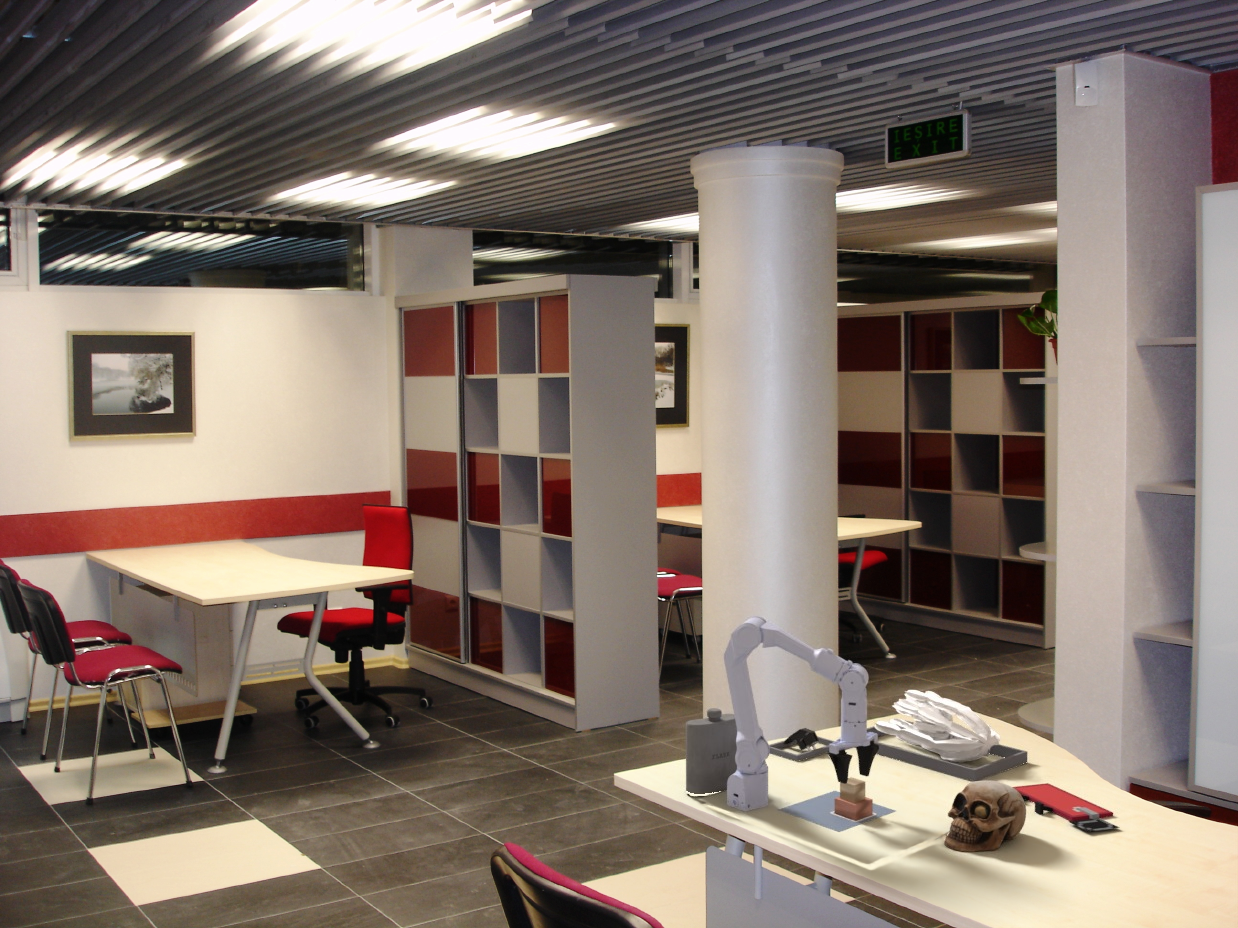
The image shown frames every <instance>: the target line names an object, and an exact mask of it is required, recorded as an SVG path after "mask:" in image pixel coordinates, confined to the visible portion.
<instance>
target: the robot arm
mask: <svg viewBox="0 0 1238 928" xmlns="http://www.w3.org/2000/svg"><path fill="white" fill-rule="evenodd" d="M761 644H762V646H761V647H762V649H764V648H773V647H774V648H775V647H778V648H779V649H782V650H783V651H785V652H787V653H788V654H789V653H790V655H791V654H792V655H793V656H795V657H797V658H800V659H801V660H804V661H805V662H807V663H808V664H809V668H810V669H811V671H813V672H815V673H816V674H817V675H819V676H821V677H823V678H824V679H826V680H828V681H830V682H832V683H833V684H835V685H839V688H840V690H841V700H840V710H841V711H840V737H839V738H838V739H836V740H834V741H835V742H833V743H831V744H829V750H828V753H827V755H828V756H829V758H830V761H831V762H832V764H833V767H834V771H835V773H836V778H837V782H838V783H840V782H841V783H844V784H846V783H847V781H848V778H849V769H850V765H851V761H852V758H853V755H852V754H849V753H848V752H847V750H851V749H854V747H856V748H855V749H856V753H857V760H858V772H859V775H860V776H863V777H867V778H868V777H869V776H870V772H871V768H872V766H873V765H872V764H873V762H874V759H875V756H876V755H877V754H876V753H877V752H878V750H879V745H877V744H874V743H876V742H878V737H877V736H878V734H876V733H873V732H869V733H867V728H868V699H867V694H868V693H867V688H866V687H867V685H868V683H869V673H868V671H867V669H866V668H865V667H864V666H863V665H861V664H860V663H853V661H852V660H850V659H848V660H846V659H844V658H842V657H841V656H838V655H837V654H835V653H834V652H835V651H834V649H831V648H830V647H829V648H827V649H826V648H824V647H821V648H819V649H816V648H814V647H812V646H811V645H808V644H807V643H806V642H804V641H803V640H801V639H799V638H797V637H796V636H795V635H792V633H789V632H788V631H786V630H785V629H784V628H781V627H780V626H778V624H776V623H774V622H772V621H770V620H766V619H765V618H763V617H761V616H759V615H753V616H750V617H748V618H747V619H746V620H745V621H744V622H743V623H741V624H739V625H738V626H737V627H736V628H735V629H733V631H732V632H731V634H730V639H729V641H728V644H727V646H726V648H725V651H724V653H723V663H724V667H725V672H726V678H727V683H728V688H729V694H730V699H731V704H732V709H733V714H734V715H735V721H736V726H737V738H736V745H737V752H736V755H735V762H736V764H737V770H736V772H735V773H734V774H732V775H731V776H730V777H729V778H728V781H727V791H726V805H727V806H729V807H731V808H734V809H737V810H740V811H743V812H749V811H751V810H755V809H760V808H764V807H767V806H768V804H769V766H768V765H767V762H766V760H767V759H768V758H769V756H770V754H771V753H770V747H769V745H770V744H769V743H768V741H767V740H766V738H765V736H764V733H763V729H762V727H760V725H759V720H758V716H757V715H758V714H757V710H756V703H755V699H754V698H755V697H754V694H753V688H752V682H751V677H750V672H749V668H748V662H747V659H748V657H749V656H750V655H751V653H753V651H754V650H755V649H757V648H758V647H759V646H760V645H761Z"/></svg>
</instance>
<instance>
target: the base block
mask: <svg viewBox="0 0 1238 928" xmlns="http://www.w3.org/2000/svg"><path fill="white" fill-rule="evenodd" d="M873 801H874V800H873V798H869V797H867V796H865V799H864V800H861V801H858V802H855V803H853V802H850V801H847V800H844V799H841V798H840V797H837V798H835V814H838V815H840V816H843V817H846V818H849V819H852V820H855V821H856V820H859V819H862V818H864V817H867V816H870V815H873V803H874V802H873Z"/></svg>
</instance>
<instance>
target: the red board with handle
mask: <svg viewBox="0 0 1238 928" xmlns="http://www.w3.org/2000/svg"><path fill="white" fill-rule="evenodd" d="M1012 787H1013V788H1014V789H1016V790H1017V791H1018V792H1019V793H1020V794H1021V796H1022V798H1023V800H1024V801H1028V800H1029V802H1031V801H1032V803H1033V802H1034V803H1033V804H1034V813H1035V812H1036V813H1035V814H1037V815H1039V816H1043V815H1044V814H1045V813H1044V811H1046V812H1049V813H1053V814H1056V815H1057V816H1060V817H1062V818H1063V819H1066V820H1068V823H1070V824H1073V825H1074V826H1076V827H1078V828H1080V829H1082V830H1084V831H1087V832H1094V831H1105V830H1112V829H1120V826H1117V825H1115V824H1113V823H1111V822H1109V821H1106V820H1104V819H1105V818H1111V817H1114V811H1111V810H1108V809H1106V808H1104V807H1102V806H1100V805H1098V804H1095V803H1093V802H1090V801H1089V800H1086V799H1084V798H1082V797H1079V796H1077V795H1075V794H1072V793H1070V792H1068V791H1066V790H1064V789H1061V788H1059V787H1057V786H1055V785H1053V784H1051V783H1038V784H1029V785H1028V784H1027V785H1019V786H1018V785H1017V786H1012Z"/></svg>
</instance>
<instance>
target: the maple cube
mask: <svg viewBox="0 0 1238 928" xmlns="http://www.w3.org/2000/svg"><path fill="white" fill-rule="evenodd" d="M839 792H840V798H841V799H844V800H847V801H850V802H853V803H855V802H858V801H861V800H864V799H865V797H866V781H865V780H862V779H859V778H855V777H852V776H851V777H848V781H847V783H846V784H844V783H841V782H839Z"/></svg>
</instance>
